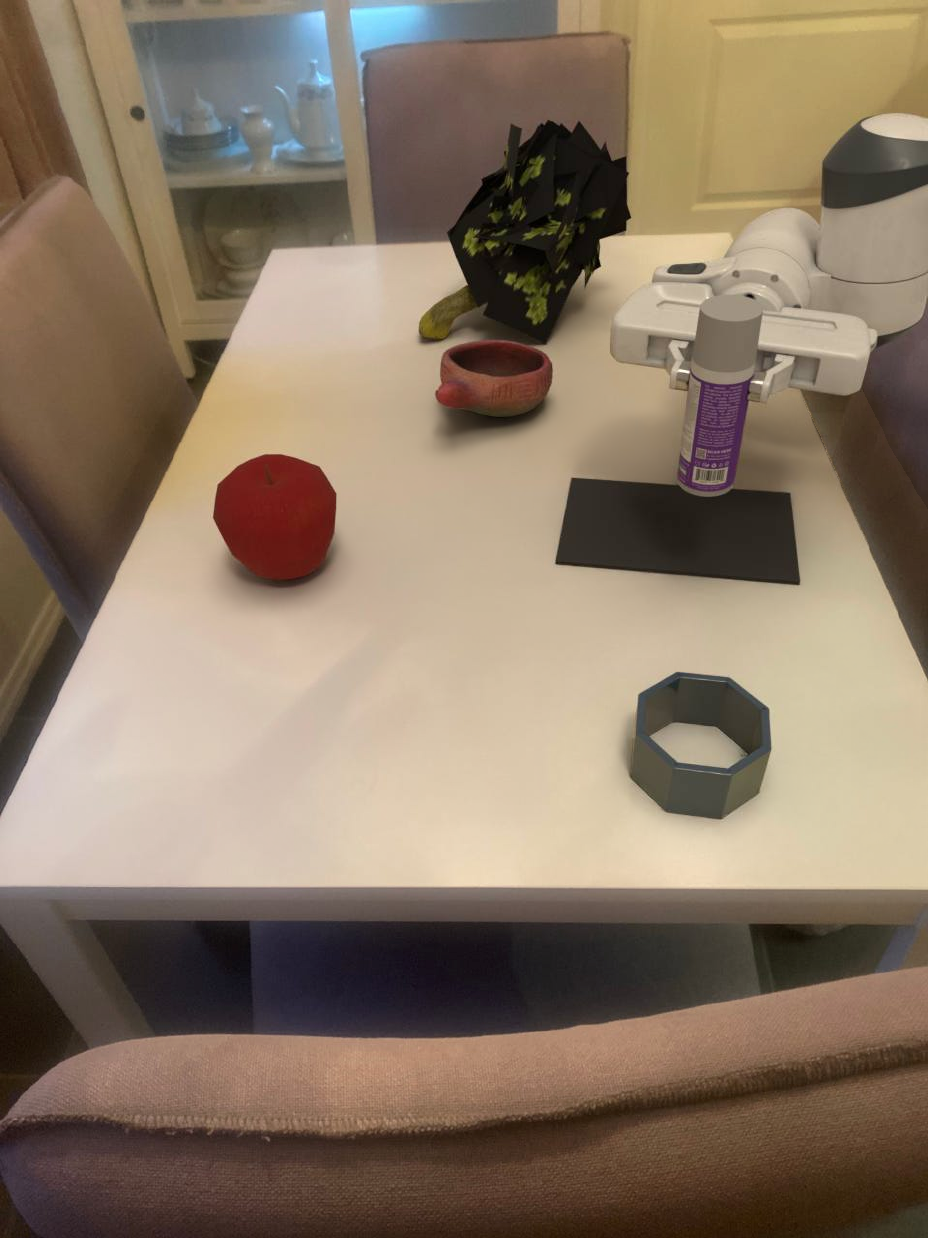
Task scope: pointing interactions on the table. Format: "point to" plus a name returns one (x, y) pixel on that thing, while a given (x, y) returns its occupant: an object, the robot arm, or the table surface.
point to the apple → (276, 515)
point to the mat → (679, 531)
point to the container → (718, 393)
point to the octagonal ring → (703, 705)
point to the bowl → (494, 377)
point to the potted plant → (534, 230)
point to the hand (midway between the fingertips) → (717, 387)
